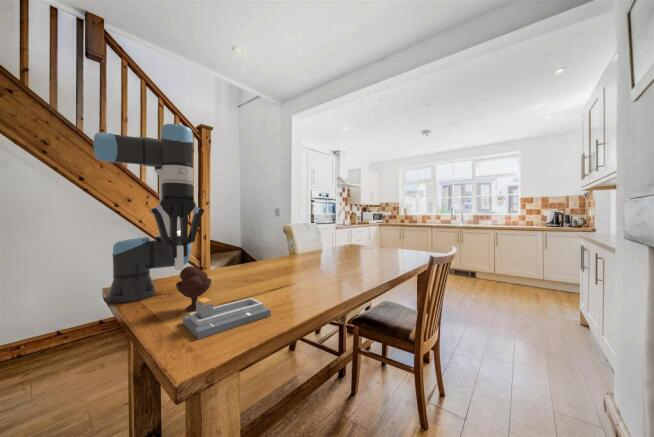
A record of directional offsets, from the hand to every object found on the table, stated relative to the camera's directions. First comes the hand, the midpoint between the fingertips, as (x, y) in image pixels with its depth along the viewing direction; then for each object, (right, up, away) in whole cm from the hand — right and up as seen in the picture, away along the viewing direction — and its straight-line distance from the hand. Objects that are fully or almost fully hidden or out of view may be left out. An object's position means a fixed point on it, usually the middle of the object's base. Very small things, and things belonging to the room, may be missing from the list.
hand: (179, 269), depth 70 cm
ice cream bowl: (-6, -18, +19) cm, 27 cm away
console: (+10, -18, +10) cm, 22 cm away
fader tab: (+5, -16, +5) cm, 17 cm away
